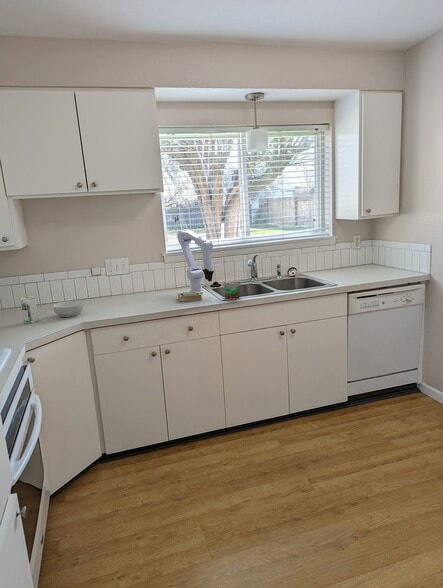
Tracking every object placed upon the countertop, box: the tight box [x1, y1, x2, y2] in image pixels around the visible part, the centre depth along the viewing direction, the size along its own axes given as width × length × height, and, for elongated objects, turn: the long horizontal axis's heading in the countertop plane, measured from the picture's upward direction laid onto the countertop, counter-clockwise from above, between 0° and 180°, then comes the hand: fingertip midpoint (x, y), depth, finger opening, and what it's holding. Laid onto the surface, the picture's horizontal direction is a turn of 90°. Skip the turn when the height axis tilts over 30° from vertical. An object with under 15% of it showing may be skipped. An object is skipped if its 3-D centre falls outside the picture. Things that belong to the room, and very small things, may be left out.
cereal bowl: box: [52, 300, 85, 318], centre depth 235 cm, size 17×17×7 cm
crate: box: [177, 291, 203, 303], centre depth 260 cm, size 10×14×4 cm
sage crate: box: [182, 291, 197, 296], centre depth 260 cm, size 5×8×4 cm, turn 104°
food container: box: [222, 281, 242, 300], centre depth 257 cm, size 12×6×10 cm, turn 62°
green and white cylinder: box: [19, 295, 39, 324], centre depth 224 cm, size 6×6×14 cm
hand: (208, 280), depth 265 cm, fingers open, 7 cm apart
